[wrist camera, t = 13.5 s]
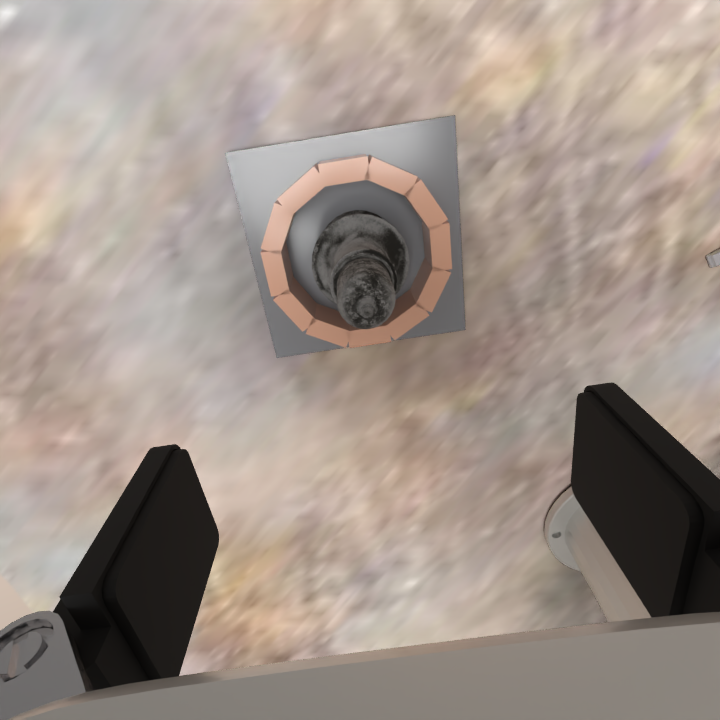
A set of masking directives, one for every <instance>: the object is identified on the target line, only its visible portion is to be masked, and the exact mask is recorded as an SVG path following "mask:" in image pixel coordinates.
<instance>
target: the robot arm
mask: <svg viewBox="0 0 720 720" xmlns="http://www.w3.org/2000/svg"><path fill="white" fill-rule="evenodd" d="M544 533H545V539H546V541H547V544H548V546H549V548H550V550H551V552H552V553H553V555H554V556H555V558H556V559H557V560H559V561H560V562H561V563H562V564H564V565H566V566H567V567H569V568H571V569H574V570H577V571H581V572H582V574H583V576H584V578H585V580H586V582H587V583H588V585H589V587H590V589H591V591H592V593H593V594H594V596H595V598H596V600H597V602H598V604H599V605H600V607H601V609H602V611H603V613H604V615H605V616H606V618H607V620H608V622H605V623H596V624H588V625H579V626H571V627H563V628H554V629H546V630H537V631H529V632H520V633H512V634H503V635H495V636H487V637H478V638H470V639H462V640H454V641H446V642H438V643H430V644H422V645H414V646H405V647H398V648H390V649H382V650H374V651H366V652H358V653H350V654H342V655H334V656H326V657H318V658H311V659H303V660H295V661H288V662H280V663H272V664H265V665H257V666H249V667H241V668H234V669H226V670H218V671H211V672H204V673H197V674H190V675H183V676H179V674H180V670H181V667H182V664H183V660H184V657H185V654H186V650H187V647H188V644H189V641H190V637H191V634H192V631H193V627H194V624H195V621H196V617H197V614H198V611H199V607H200V604H201V601H202V597H203V594H204V591H205V587H206V584H207V581H208V577H209V574H210V571H211V568H212V564H213V561H214V558H215V554H216V551H217V548H218V543H219V533H218V529H217V526H216V523H215V521H214V518H213V516H212V513H211V510H210V508H209V505H208V503H207V500H206V497H205V495H204V492H203V490H202V487H201V484H200V482H199V479H198V477H197V474H196V471H195V469H194V466H193V464H192V461H191V458H190V456H189V453H188V451H187V450H185V449H180V447H179V446H178V445H176V444H174V445H167V446H160V447H153V448H151V449H150V450H149V451H148V453H147V454H146V456H145V458H144V459H143V461H142V463H141V464H140V466H139V467H138V469H137V471H136V472H135V474H134V476H133V477H132V479H131V481H130V482H129V484H128V485H127V487H126V489H125V490H124V492H123V494H122V495H121V497H120V499H119V500H118V502H117V504H116V505H115V507H114V508H113V510H112V512H111V513H110V515H109V517H108V518H107V520H106V522H105V523H104V525H103V526H102V528H101V530H100V531H99V533H98V535H97V536H96V538H95V540H94V541H93V543H92V545H91V546H90V548H89V549H88V551H87V553H86V554H85V556H84V558H83V559H82V561H81V563H80V564H79V566H78V567H77V569H76V571H75V572H74V574H73V576H72V577H71V579H70V581H69V582H68V584H67V586H66V587H65V589H64V590H63V592H62V594H61V595H60V601H59V603H58V604H57V606H56V608H55V609H54V611H53V612H51V611H39V612H35V613H32V614H29V615H26V616H24V617H22V618H20V619H18V620H16V621H14V622H12V623H10V624H9V625H8V626H6V627H5V628H4V629H2V630H1V631H0V720H720V479H719V478H717V477H716V476H715V475H714V474H713V473H712V472H711V471H710V470H709V469H708V468H707V467H706V466H704V465H703V464H702V463H701V462H700V461H699V460H698V459H697V458H696V457H695V456H694V455H692V454H691V453H690V452H689V451H688V450H687V449H686V448H685V447H684V446H683V445H682V444H681V443H679V442H678V441H677V440H676V439H675V438H674V437H673V436H672V435H671V434H670V433H669V432H667V431H666V430H665V429H664V428H663V427H662V426H661V425H660V424H659V423H658V422H657V421H656V420H654V419H653V418H652V417H651V416H650V415H649V414H648V413H647V412H646V411H645V410H644V409H642V408H641V407H640V406H639V405H638V404H637V403H636V402H635V401H634V400H633V399H632V398H631V397H629V396H628V395H627V394H626V393H625V392H624V391H623V390H622V389H621V388H620V387H619V386H617V385H616V384H615V383H605V384H598V385H591V386H587V387H586V388H585V390H584V393H580V394H578V396H577V405H576V419H575V433H574V446H573V460H572V474H571V487H570V488H569V489H567V490H566V491H565V492H564V493H563V494H562V495H561V496H560V497H559V498H558V499H557V500H556V501H555V503H554V504H553V506H552V507H551V509H550V511H549V512H548V515H547V518H546V521H545V528H544Z"/></svg>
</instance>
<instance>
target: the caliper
mask: <svg viewBox="0 0 720 720" xmlns="http://www.w3.org/2000/svg"><path fill="white" fill-rule="evenodd" d="M706 259H707V262H708V264H709V267H711V268H712V267H714V266H719V265H720V249H718V250H716V251H713V252H711V253H710V254H708V255H706Z"/></svg>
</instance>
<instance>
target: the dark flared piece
mask: <svg viewBox="0 0 720 720" xmlns="http://www.w3.org/2000/svg"><path fill="white" fill-rule="evenodd" d="M409 262H410V261H409V254H408V248H407V246H406V244H405V241H404V239H403V237H402V236H401V234H400V233H399V232H398V231H397V229H396V228H395V227H394V226H393V225H391V224H390V223H388V222H387V221H386V220H384V219H383V218H381V217H380V216H379V215H377V214H374V213H372V212H369V211H363V210H354V211H349V212H345V213H343V214H341V215H339V216H337V217H336V218H335V219H333V220H332V221H331V222H330V223H329V224H328V225H327V227H326V229H325V230H324V231H323V232H322V234H321V235H320V237H319V238H318V240H317V242H316V244H315V247H314V250H313V254H312V271H313V275H314V279H315V282H316V283H317V285H318V287H319V289H320V291H321V292H322V293H323V294H324V295H325V296H326V297H327V298H328V299H329V300H330V301H332V302H333V303H335V304H336V305H337V307H338V311H339V313H340V315H341V317H342V318H343V319H344V320H345V321H346V322H347V323H348V324H350V325H351V326H353V327H356V328H359V329H371V328H375V327H378V326H380V325H382V324H383V323H384V322H385V321H386V320H387V319H388V318H389V317H390V315H391V314H392V312H393V309H394V307H395V300H396V295H397V293H398V292H399V291H400V289H401V288H402V287H403V285H404V283H405V280H406V278H407V275H408V270H409Z"/></svg>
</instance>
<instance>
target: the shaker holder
mask: <svg viewBox="0 0 720 720" xmlns="http://www.w3.org/2000/svg"><path fill="white" fill-rule="evenodd" d="M225 155H226V159H227V163H228V167H229V171H230V175H231V179H232V183H233V187H234V191H235V195H236V199H237V202H238V206H239V210H240V214H241V218H242V222H243V226H244V230H245V234H246V238H247V242H248V246H249V250H250V254H251V258H252V262H253V266H254V270H255V274H256V278H257V282H258V286H259V290H260V294H261V298H262V301H263V305H264V309H265V313H266V317H267V321H268V325H269V329H270V333H271V337H272V341H273V345H274V349H275V353H276V357H277V358H279V357H286V356H293V355H300V354H306V353H313V352H320V351H327V350H333V349H340V348H347V347H349V348H353V347H360V346H367V345H373V344H380V343H387V342H391V341H394V340H401V339H408V338H414V337H421V336H428V335H434V334H441V333H448V332H455V331H461V330H465V311H464V290H463V270H462V249H461V228H460V207H459V187H458V166H457V145H456V125H455V115H454V116H447V117H441V118H435V119H429V120H423V121H416V122H410V123H404V124H398V125H392V126H386V127H380V128H374V129H367V130H361V131H355V132H349V133H343V134H337V135H331V136H325V137H318V138H312V139H306V140H300V141H294V142H288V143H282V144H276V145H269V146H263V147H257V148H251V149H245V150H239V151H233V152H227V153H225ZM354 210H363V211H369V212H372V213H374V214H377V215H379V216H380V217H381V218H383V219H384V220H386V221H387V222H388V223H390V224H391V225H393V226H394V227H395V228H396V229H397V231H398V232H399V233H400V234H401V236H402V237H403V239H404V241H405V244H406V246H407V248H408V254H409V261H410V262H409V270H408V275H407V278H406V280H405V283H404V285H403V287H402V288H401V289H400V291H399V292H398V293H397V295H396V300H395V307H394V309H393V312H392V314H391V315H390V317H389V318H388V319H387V320H386V321H385V322H384V323H383V324H382V325H380V326H378V327H375V328H371V329H359V328H356V327H353V326H351V325H350V324H348V323H347V322H346V321H345V320H344V319H343V318H342V317H341V315H340V313H339V311H338V307H337V305H336V304H335V303H333V302H332V301H330V300H329V299H328V298H327V297H326V296H325V295H324V294H323V293H322V292H321V291H320V289H319V287H318V285H317V283H316V282H315V279H314V275H313V271H312V254H313V250H314V247H315V244H316V242H317V240H318V238H319V237H320V235H321V234H322V232H323V231H324V230H325V229H326V227H327V225H328V224H329V223H330V222H331V221H332V220H333V219H335V218H336V217H337V216H339V215H341V214H343V213H345V212H349V211H354Z"/></svg>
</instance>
